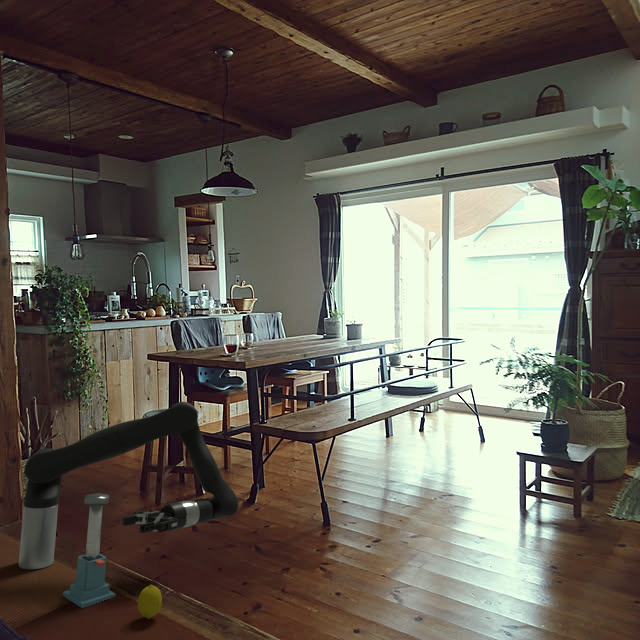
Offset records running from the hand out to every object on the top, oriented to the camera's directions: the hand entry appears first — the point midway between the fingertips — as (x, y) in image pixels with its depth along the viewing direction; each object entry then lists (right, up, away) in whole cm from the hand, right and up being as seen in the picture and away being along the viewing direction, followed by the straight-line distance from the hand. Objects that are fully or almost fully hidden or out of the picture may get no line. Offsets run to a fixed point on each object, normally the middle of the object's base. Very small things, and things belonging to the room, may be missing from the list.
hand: (131, 525), depth 155 cm
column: (-8, -14, -9) cm, 18 cm away
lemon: (+11, -15, -20) cm, 27 cm away
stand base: (-8, -15, -10) cm, 19 cm away
